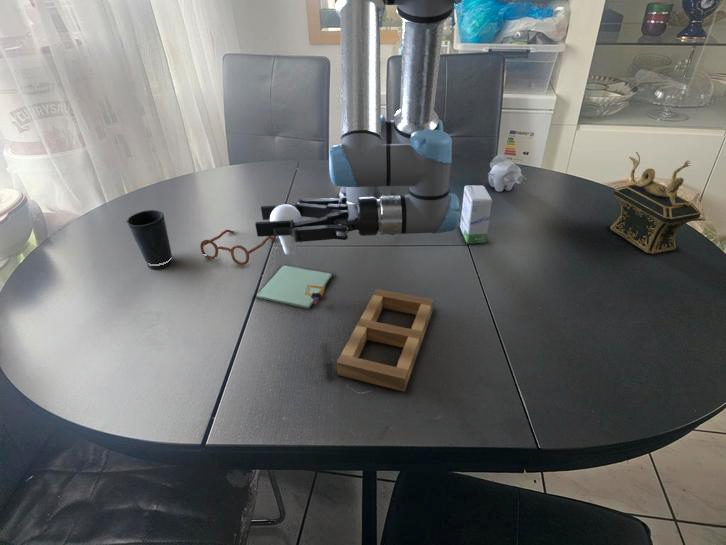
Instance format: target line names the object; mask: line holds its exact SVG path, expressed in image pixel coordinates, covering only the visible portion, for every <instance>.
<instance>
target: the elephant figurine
mask: <svg viewBox="0 0 726 545" xmlns="http://www.w3.org/2000/svg"><path fill="white" fill-rule="evenodd" d="M489 167H490V169H491V170H490V171H489V172H488V173H487V175H488V183H489V185H490V187H491V188H494V190H495V192H498V193H501V192H503V191H504V190H505V191H509V192H510V191H511V190H512V189H513V186H514V185H517V186H519V185H521V184H522V182H523V179H524V180H526V181H528V178H526V177H525V176H523V174H522V169H521V168H520V167H519V165H518V164H515V163H514V162H513V161H511V160H508V158H507V156H506V155H504V154H502V153H501V154H500V153H499V154H497V155H495V156H494V158H493V159H491V161H490V162H489Z"/></svg>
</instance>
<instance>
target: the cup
mask: <svg viewBox="0 0 726 545" xmlns="http://www.w3.org/2000/svg"><path fill="white" fill-rule="evenodd" d="M126 225H127V227H128V229H129V231H130V233H131V235H132V237H133V239H134V241H135V243H136V245H137V248H138V249H139V251H140V253H141V255H142V257H143V259H144V262H145V263H146V262H147V263H150V264H159V263H163V262H166V261H168V260H169V259H170V258H171V257H172V259H171V260H170V261H169V262H168V263H166V264H164V265H160V266H149V265H147V267H148V268H149V269H150V270H155V271H156V270H157V271H158V270H164V269H166V268H168V267H170V266H171V265H172V264H173V262H174V259H173V254H172V250H171V244H170V240H169V234H168V230H167V229H168V228H167V225H166V220H165V215H164V213H163V211H160V210H155V209H148V210H142V211H139V212H136V213H134V214H132V215H130V216H129V217H128V218H127V219H126ZM147 263H146V264H147Z"/></svg>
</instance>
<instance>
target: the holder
mask: <svg viewBox="0 0 726 545" xmlns="http://www.w3.org/2000/svg"><path fill="white" fill-rule="evenodd" d="M384 309H385V310H390V311H395V312H400V313H406V314H411V315H415V318H414V320H413V324H412V325H411V328H407V327H403V326H398V325H394V324H389V323H383V322H380V321H378V319H379V317H380V315H381V313H382V311H383V310H384ZM433 311H434V299H433V298H428V297H423V296H416V295H412V294H406V293H400V292H396V291H392V290H391V291H389V290H385V289H380V288H376V289H375V291H374V293H373V294H372V297H371V298H370V300H369V302H368V304H367V306H366V308H365V310H364V311H363V313H362V315H361V317H360V318H359V320H358V322H357V324H356V325H355V328H354V330H353V331H352V333H351V335H350V337H349V338H348V341H347V342H346V344H345V346H344V348H343V350H342V352H341V354H340V355H339V357H338V359H337V361H336V372H337V376H341V377H345V378H348V379H353V380H357V381H360V382H364V383H369V384H372V385H376V386H380V387H385V388H387V389H392V390H396V391H399V392H405V391H406V388H407V386H408V384H409V380H410V377H411V374H412V372H413V369H414V366H415V362H416V360H417V357H418V355H419V351H420V349H421V345H422V343H423V340H424V337H425V334H426V331H427V328H428V325H429V323H430V321H431V317H432V315H433ZM367 341H371V342H376V343H380V344H385V345H388V346H394V347H399V348H403V349H402V351H401V354H400V356H399V359H398V361H397V364H396V366H393V365H390V364H384V363H381V362H376V361H371V360H367V359H364V358H360V355H361V353H362V352H363V349H364V347H365V346H366V343H367Z"/></svg>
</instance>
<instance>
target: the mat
mask: <svg viewBox="0 0 726 545" xmlns="http://www.w3.org/2000/svg"><path fill="white" fill-rule="evenodd" d="M332 276H333V275H332V273H328V272H323V271H319V270H312V269H306V268H301V267H296V266H291V265H290V266H289V265H285V264H283V265H282V266H281V267H280V268H279V269H278V271H276V273H275V274H274V275H273V276H272V278H271V279H269V281H268V282H267V283H265V285H264V287H262V289H261V290H259V291H258V293H257V294H256V298H257V299H261V300H265V301H266V300H267V301H271V302H276V303H281V304H285V305H288V306H289V305H290V306H295V307H299V308H305V309H310V307H312V305H313V304H314V303H313V299H312V298H311V295H305V292H306V294H308V293H307V291H306V288H307V285H315V286H323V289H324V287H326V285H327V283H328V282H329V281H330V279H331V278H332ZM308 287H309V286H308ZM309 289H310V291H309ZM309 289H308V288H307V290H308V292H309V293H315V294H316V293H320V294H321V292H320V290H321V291H323V290H322V289H320V288H311V287H309Z"/></svg>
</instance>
